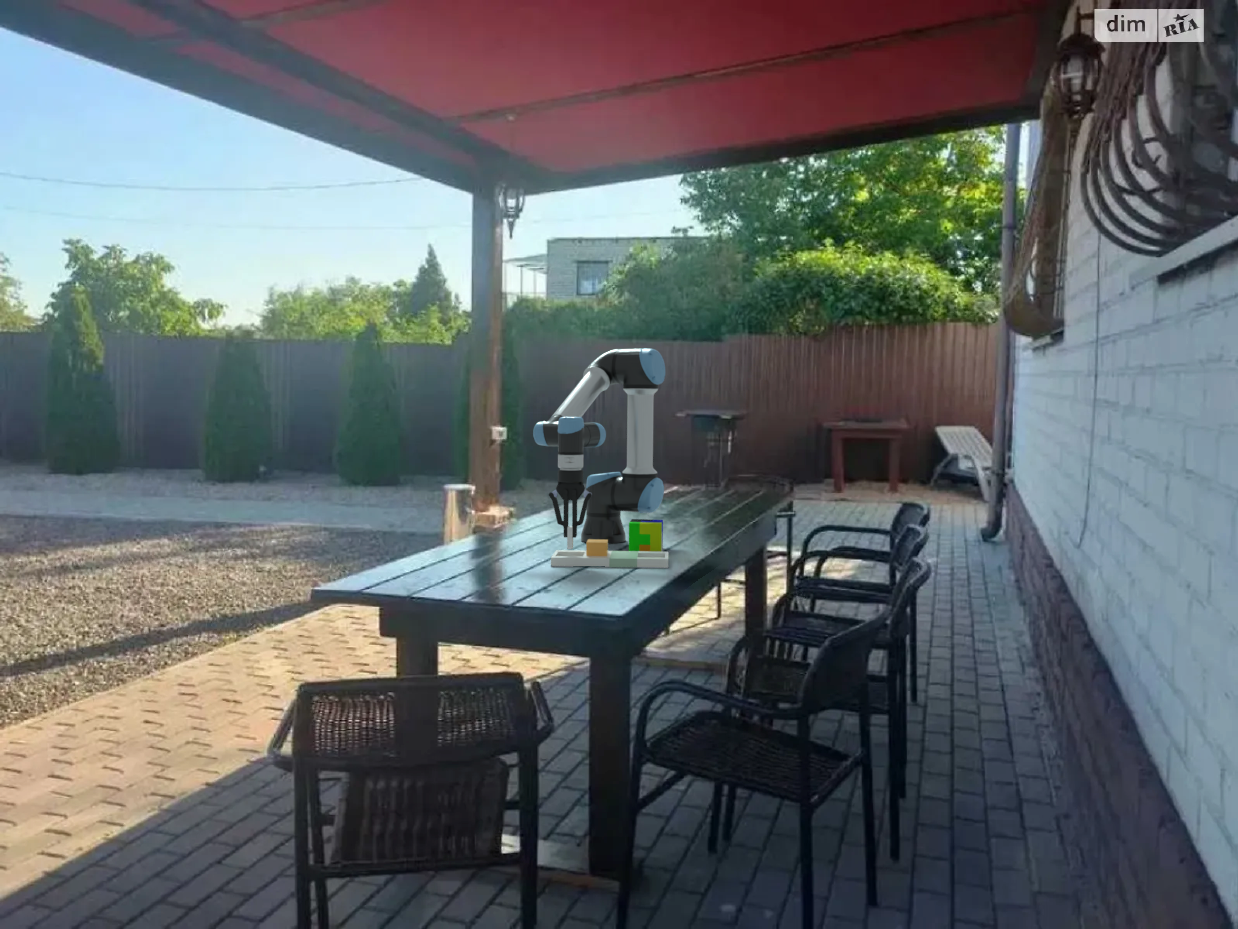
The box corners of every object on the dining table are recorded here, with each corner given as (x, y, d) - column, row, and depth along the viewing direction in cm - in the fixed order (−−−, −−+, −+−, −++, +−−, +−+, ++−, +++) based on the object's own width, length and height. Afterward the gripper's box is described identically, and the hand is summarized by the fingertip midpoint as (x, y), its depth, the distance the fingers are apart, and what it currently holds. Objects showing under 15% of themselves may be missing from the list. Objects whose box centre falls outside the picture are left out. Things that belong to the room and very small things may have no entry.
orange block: (587, 552, 301) (588, 539, 301) (607, 552, 301) (608, 539, 301) (586, 555, 295) (586, 542, 295) (606, 556, 295) (606, 542, 295)
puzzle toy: (662, 550, 322) (662, 519, 322) (660, 555, 312) (661, 523, 312) (631, 550, 323) (631, 519, 322) (628, 555, 313) (628, 523, 313)
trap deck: (556, 558, 306) (556, 550, 306) (668, 559, 304) (668, 551, 304) (550, 566, 292) (550, 557, 292) (668, 567, 291) (668, 559, 290)
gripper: (547, 469, 293) (546, 550, 295) (591, 470, 293) (591, 550, 294) (550, 467, 301) (549, 546, 303) (593, 468, 300) (593, 546, 302)
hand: (570, 548), depth 298 cm, fingers closed
